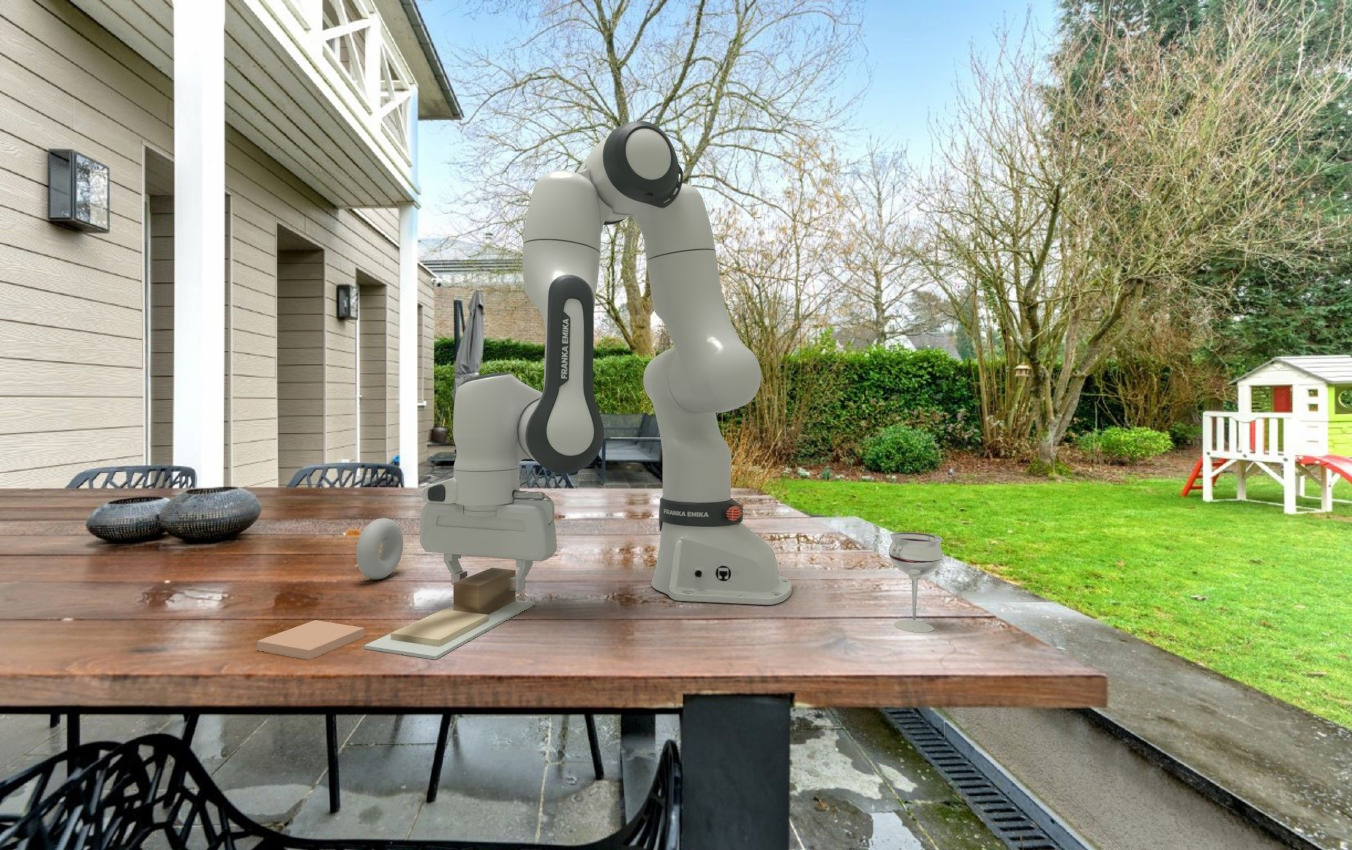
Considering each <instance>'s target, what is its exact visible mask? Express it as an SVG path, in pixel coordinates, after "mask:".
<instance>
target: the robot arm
mask: <svg viewBox="0 0 1352 850" xmlns="http://www.w3.org/2000/svg"><path fill="white" fill-rule="evenodd" d="M683 182H684V172H683V168H682V166H681V165H680V163H679V160H678V155H677V152H676V150H675V147H674V146H673V144H672V142H671V140H670V138H669V137H668V136H667V134H666V133H665V132H664V130H662V129H661V128H660V127H659V126H658V125H656V124H654V123H652V122H649V121H645V120H634V121H631V122H626V123H624V124H622V125H620V126H618V127H616V128H615V129H613V130H612V131H611V132H610V134H608V135H607V136H606V137H605V138H603V139H602V140H600V142H598V143H597V144H596V145H595V146H594V147H593V149H592V150H591V152H590V153H589V155H588V156H587V157H586V158H585V159H584V161H583V162H581V164H579V166H577V168H576V169H575V171H571V170H567V169H566V170H564V169H561V170H553V171H552V170H551V171H550V172H547V173H545V174H542V176H540V177H539V178H538V179H537V180H536V182H535V183H534V187H533V190H532V193H531V196H530V198H529V199H530V200H529V204H528V208H527V214H526V219H525V224H524V232H523V241H522V242H523V243H522V258H521V260H522V261H521V262H522V264H521V266H522V267H521V268H522V278H523V287H524V292H525V295H526V296H527V297H528V299H529V300H530V301H531V303H532V304H533V305H534V306H535V307H536V308H537V310H538V311H539V313H540V315H541V318H542V320H543V325H544V332H545V343H544V344H545V345H544V346H545V347H544V369H543V370H544V371H543V372H544V373H543V374H544V375H543V389H542V391H540V390H537V389H535V388H533V387H531V386H529V385H527V384H526V383H524V382H523V381H521V380H520V379H518V378H517V377H515V376H514V374H512V373H509V372H505V371H504V372H502V371H501V372H493V373H486V374H482V375H476V376H471V377H469V378H467V379H465V380H464V381H462V382H460V385H458V387H457V389H456V392H455V396H454V404H453V419H452V420H453V422H452V425H453V426H452V427H453V428H452V432H453V433H452V436H453V441H454V445H455V448H456V449H455V450H456V456H455V460H454V464H453V477H452V478H447V479H445V480H443V481H439V482H437V483H434V484H430V485H426V486H424V487H423V488H422V490H421V498H422V501H424V502H425V504H424V505H423V507H422V509H421V511H420V519H419V520H420V521H419V542H420V546H421V548H422V549H423V550H424V551H425V552H426V553H432V554H433V553H434V554H443V562H444V563H445V566H446V568H447V570H448V571H449V573H450V578H451V580H450V582H451V585H452V586H453V583H455V582H457V581H460V580H462V579H465V578H467V577H468V570H463V568H462V566H461V562H460V560H459V559H461V558H462V556H466V557H467V556H468V557H469V556H470V557H479V558H481V557H482V558H491V559H492V558H494V559H506V560H515V567H516V568H519V569H518V571H517V573H516V576H515V577H513V578H510V579H509V584H510V587H509V588H510V591H516V592H519V593H520V592H523V591H524V590H525V589H526V577H527V576H528V574H529V573H530V570H531V569H532V567H533V564H534V562H544V561H546V560H549V559H550V558H552V557H553V556H554V555H555V554H556V552H557V548H558V543H557V541H558V540H557V533H556V531H557V530H556V524H555V520H554V519H555V502H554V501H553V500H552V498H551V497H550V496H548V494H547V495H546V493H545V492H543V491H529V490H528V491H527V490H520V463H521V462H522V461H523V460H533V461H534V462H536V463H538V464H539V465H540V466H541V467H543V469H546V470H547V471H550V472H552V473H555V474H566V475H567V474H572V473H575V472H576V473H577V472H580V471H581V470H583V469H585V468H587V467H588V466H590V465H591V464H592V463H593V462H594V460H596V458H597V457H598V455H599V454H600V452H601V449H602V447H603V444H604V440H605V428H604V423H603V420H602V419H603V418H602V416H601V413H600V410H599V408H598V405H597V402H596V399H595V392H594V350H595V349H594V347H595V346H594V342H595V340H594V339H595V330H594V329H595V323H594V322H595V319H594V318H595V316H594V315H595V314H594V313H595V307H596V297H597V290H598V289H597V288H598V281H599V273H600V265H601V264H600V263H601V249H602V247H601V246H602V233H603V230H604V226H611V225H612V226H613V225H615V224H618V223H621V222H623V221H625V220H626V219H628V218H630V217H631V219H632V220H634V222H635V224H636V225H637V227H638V229H639V230H640V232H641V235H642V239H643V242H644V252H645V261H646V266H647V267H646V268H647V274H648V275H647V277H648V281H649V287H650V296H651V302H652V309H653V310H654V313H655V314H656V316H657V317H658V319H660V320H661V321H662V323H663V324H664V326H665V327H666V330H667V332H668V335H669V338H670V340H671V342H672V344H673V347H671V348H669V349H666V350H664V351H662V352H661V353H659V354H657V355H656V356H655V357H653V358H652V359H651V360H650V361H649V362H648V364H647V365H646V366H645V369H644V372H643V379H642V380H643V382H642V383H643V387H644V391H645V393H646V396H647V397H648V398H649V400H650V401H651V403H652V406H653V410H654V413H655V417H656V423H657V427H658V431H659V436H660V442H661V443H660V444H661V451H662V452H661V453H662V496H661V497H660V499H659V508H658V525H659V526H658V527H659V532H660V537H659V538H660V539H659V540H660V541H659V547H658V555H657V561H656V565H655V570H654V573H653V576H652V579H651V583H650V584H651V586H652V588H654V589H655V590H656V591H659V592H661V593H663V594H665V595H668V597H669V598H670V599H672V600H674V601H678V602H679V601H680V602H700V603H702V602H703V603H704V602H705V603H720V604H721V603H722V604H743V605H744V604H746V605H747V604H748V605H765V606H766V605H767V606H769V605H776V604H780V603H781V602H784V601H786V600H787V599H789V597H790V596H791V595H792V592H793V584H792V582H791V580H790V579H789V578H787V577H785V576H782V575H779V568H778V561H777V557H776V553H775V551H774V549H773V547H771V545H770V544H768V543H767V542H766V541H764V540H763V539H762V538H761V537H759V536H758V535H757V534H756V533H755V532H753V531H752V530H751V529H750V528H749V527H748V526H746V525H745V524H744V523H743V522H744V520H743V519H744V510H745V508H744V507H745V505H744V503H743V502H741V503H739V502H738V501H736V500H734V499H733V498H732V496H731V495H732V493H731V492H732V452H731V449H730V446H729V445H728V443H727V442H726V440H725V439H724V437H723V435H722V433H721V430H720V427H719V423H718V419H717V415H716V414H718V413H719V414H721V413H722V414H723V413H727V412H731V411H733V410H736V409H739V408H740V407H744V406H746V405H748V404H749V403H750V402H751V401H752V400H753V399H754V398H755V397H756V395H757V394H758V392H759V389H760V386H761V382H762V372H761V371H762V370H761V366H760V363H759V360H758V358H757V357H756V355H755V353H754V352H753V351H752V350H751V349H750V348H748V347H747V345H746V344H744V343H743V342H742V340H741V339H740V337H739V335H738V334H737V331H736V329H735V327H734V325H733V323H732V321H731V319H730V315H729V313H728V310H727V307H726V305H725V301H724V297H723V292H722V286H721V279H720V273H719V266H718V259H717V251H716V245H715V239H714V234H713V229H712V225H711V222H710V218H709V214H708V211H707V208H706V204H705V201H704V199H703V196H702V194H701V193H700V191H699V190H698V189H697V188H696V187H694V186H693V185H690V184H687V183H683Z"/></svg>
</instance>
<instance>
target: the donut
mask: <svg viewBox="0 0 1352 850" xmlns="http://www.w3.org/2000/svg"><path fill="white" fill-rule="evenodd" d="M380 547H381V548H380ZM380 549H381V550H380ZM403 549H404V535H403V533H402V530H401V527H400V526H399V525H398V524H397V522H395V521H393V520H392V519H390V518H388V517H387V518H386V517H384V518H383V517H382V518H377V519H375V520H373V521H371V522H369V523H368V524H367V525H366V526H365V528H364V529H363V530H362V532H361V533H360V535H359V537H358V541H357V545H356V549H355V550H356V552H355V557H356V563H357V566H358V568H359V571H360V572H361V573H362V574H363V575H364V577H366V578H369V579H371V580H381V579H385V578H387V577H388V576H389V575H391V574H392V573H393V572H394V570H395V569H396V568H397V567H398V565H399V563H400V561H401V558H402V554H403V552H404V551H403Z"/></svg>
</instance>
